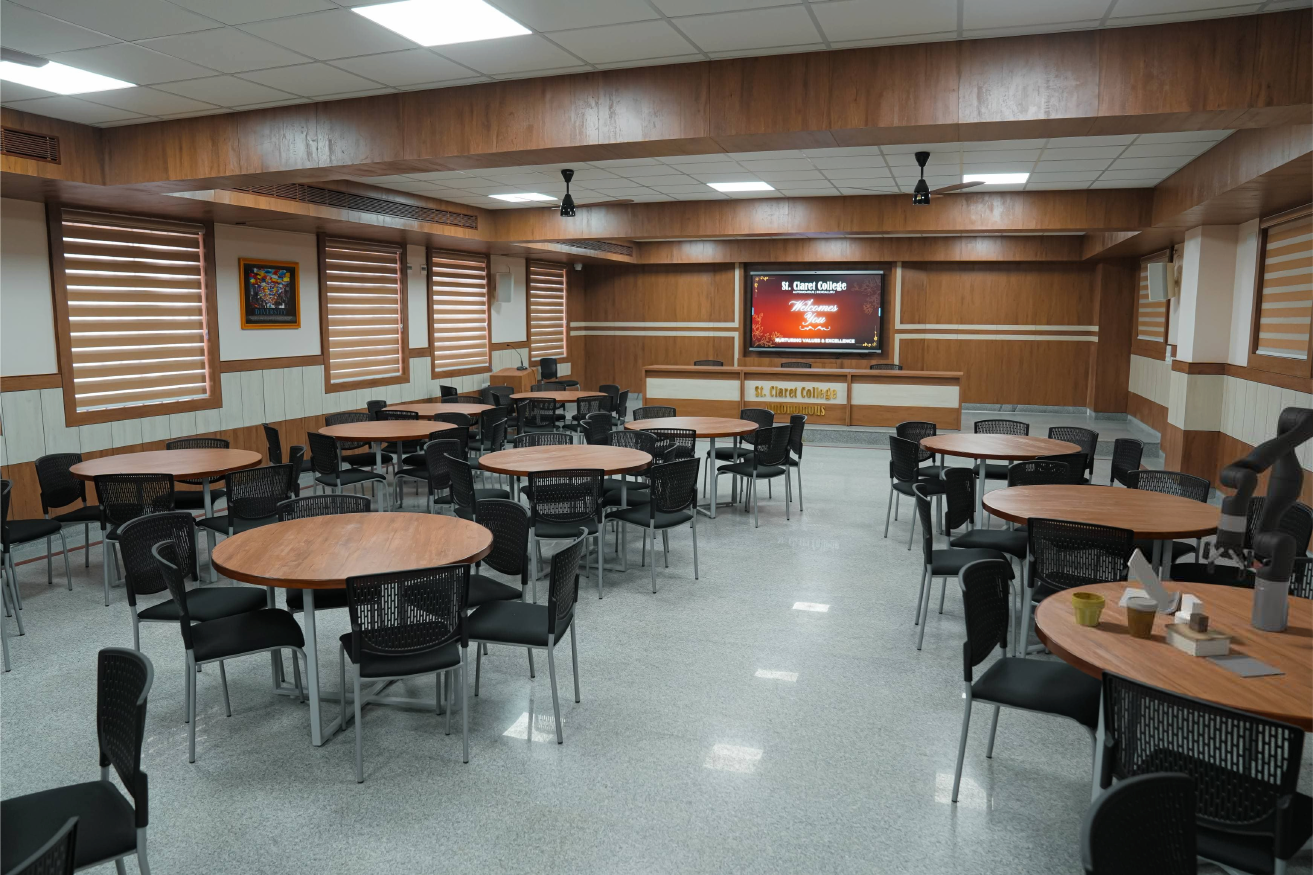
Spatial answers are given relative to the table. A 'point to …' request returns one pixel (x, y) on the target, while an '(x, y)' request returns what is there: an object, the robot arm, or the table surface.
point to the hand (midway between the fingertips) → (1225, 576)
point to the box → (1197, 645)
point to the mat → (1244, 665)
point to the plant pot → (1087, 607)
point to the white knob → (1188, 608)
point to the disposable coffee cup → (1140, 616)
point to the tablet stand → (1149, 586)
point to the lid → (1198, 629)
